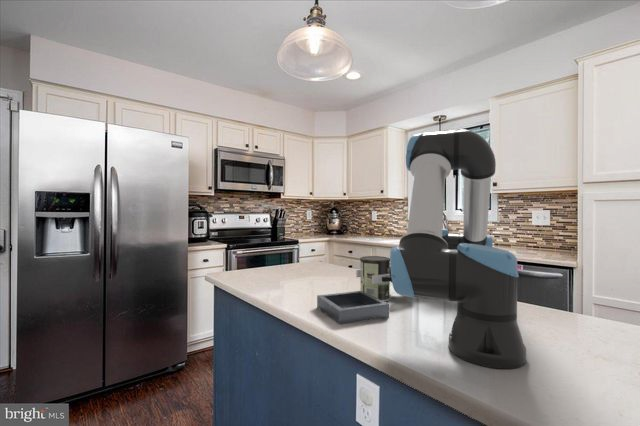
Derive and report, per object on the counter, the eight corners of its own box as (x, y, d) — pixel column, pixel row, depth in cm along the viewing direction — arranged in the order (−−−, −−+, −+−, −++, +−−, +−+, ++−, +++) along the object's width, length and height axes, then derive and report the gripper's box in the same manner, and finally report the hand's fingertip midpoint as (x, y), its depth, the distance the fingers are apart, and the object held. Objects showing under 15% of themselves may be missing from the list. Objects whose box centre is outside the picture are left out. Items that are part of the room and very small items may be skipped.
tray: (389, 317, 93) (389, 304, 93) (339, 324, 87) (339, 310, 87) (361, 301, 108) (361, 290, 108) (317, 307, 102) (317, 295, 102)
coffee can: (386, 294, 117) (387, 255, 117) (392, 302, 107) (392, 260, 107) (358, 294, 118) (358, 255, 117) (361, 302, 107) (361, 260, 107)
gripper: (438, 288, 109) (382, 295, 100) (398, 275, 130) (348, 280, 121) (438, 266, 109) (382, 271, 100) (398, 257, 129) (348, 260, 121)
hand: (364, 276), depth 111 cm, fingers closed on coffee can, 10 cm apart
